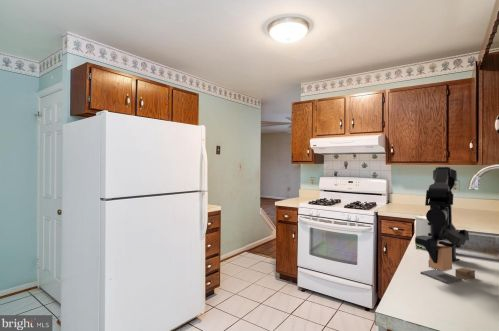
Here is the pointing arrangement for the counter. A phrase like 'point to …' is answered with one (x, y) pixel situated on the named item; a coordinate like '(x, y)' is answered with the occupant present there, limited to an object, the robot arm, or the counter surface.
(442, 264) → the terracotta block
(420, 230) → the skincare box
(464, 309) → the counter surface
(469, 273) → the walnut block
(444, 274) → the charcoal mat
